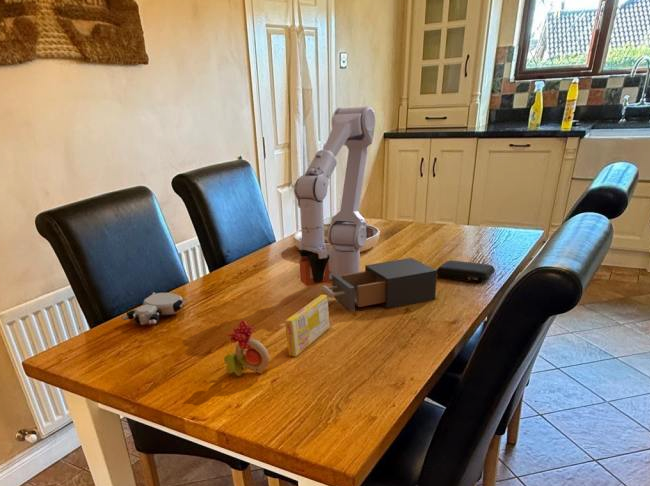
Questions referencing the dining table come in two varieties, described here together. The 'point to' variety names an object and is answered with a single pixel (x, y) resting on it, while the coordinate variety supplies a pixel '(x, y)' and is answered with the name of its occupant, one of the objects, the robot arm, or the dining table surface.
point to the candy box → (307, 325)
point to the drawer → (357, 289)
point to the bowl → (370, 230)
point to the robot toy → (156, 308)
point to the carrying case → (465, 271)
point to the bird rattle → (254, 355)
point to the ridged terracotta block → (307, 272)
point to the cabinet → (405, 281)
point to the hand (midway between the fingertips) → (314, 279)
